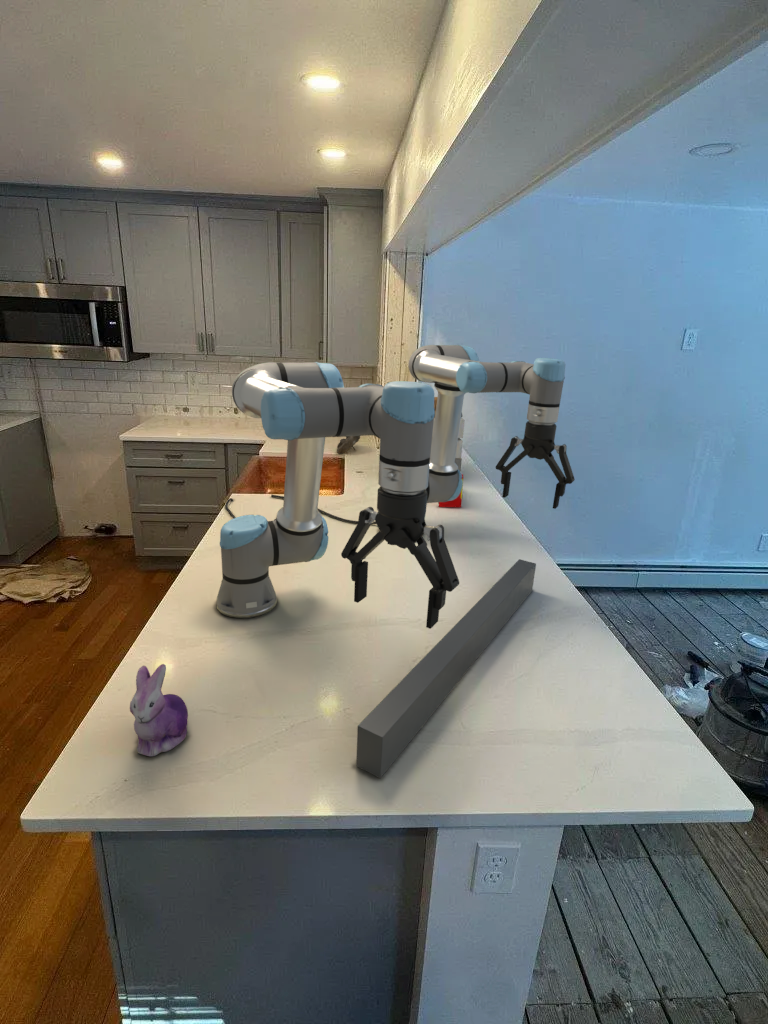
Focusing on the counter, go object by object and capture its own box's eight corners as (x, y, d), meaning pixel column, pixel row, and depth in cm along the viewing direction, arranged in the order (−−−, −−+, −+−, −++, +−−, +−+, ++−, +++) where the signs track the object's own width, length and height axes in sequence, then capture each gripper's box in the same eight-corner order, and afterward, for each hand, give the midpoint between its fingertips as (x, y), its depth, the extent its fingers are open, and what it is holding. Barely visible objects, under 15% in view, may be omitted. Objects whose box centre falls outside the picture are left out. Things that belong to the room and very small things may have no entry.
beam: (515, 585, 166) (519, 559, 163) (532, 590, 163) (536, 563, 160) (356, 766, 98) (357, 725, 95) (380, 778, 96) (382, 737, 93)
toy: (455, 465, 253) (467, 475, 224) (454, 495, 256) (465, 508, 227) (428, 465, 253) (437, 474, 224) (427, 494, 256) (435, 507, 226)
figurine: (137, 767, 96) (127, 693, 90) (132, 728, 104) (122, 659, 99) (195, 750, 100) (189, 678, 95) (185, 714, 108) (179, 646, 103)
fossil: (337, 437, 322) (357, 422, 317) (347, 450, 325) (368, 435, 320) (330, 450, 302) (352, 434, 297) (341, 464, 305) (363, 448, 300)
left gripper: (321, 477, 88) (320, 597, 95) (469, 513, 76) (454, 647, 84) (348, 467, 94) (345, 581, 102) (490, 498, 82) (474, 625, 90)
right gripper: (489, 417, 145) (480, 495, 153) (588, 432, 134) (573, 516, 141) (499, 413, 151) (490, 488, 159) (595, 427, 140) (581, 508, 147)
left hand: (395, 611), depth 93 cm, fingers open, 13 cm apart
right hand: (529, 501), depth 150 cm, fingers open, 13 cm apart
